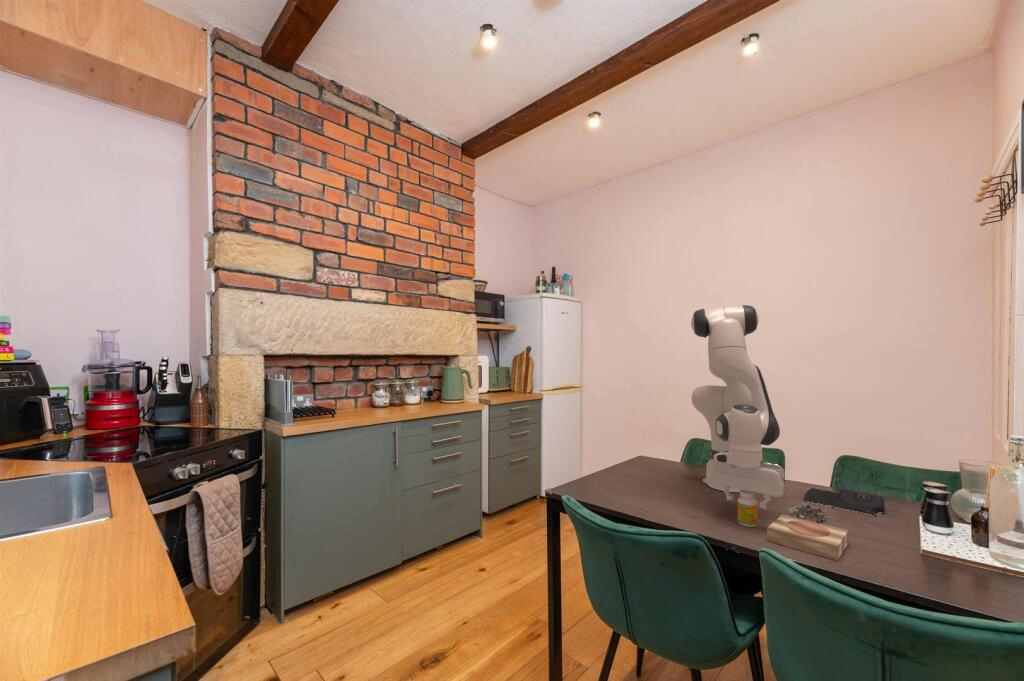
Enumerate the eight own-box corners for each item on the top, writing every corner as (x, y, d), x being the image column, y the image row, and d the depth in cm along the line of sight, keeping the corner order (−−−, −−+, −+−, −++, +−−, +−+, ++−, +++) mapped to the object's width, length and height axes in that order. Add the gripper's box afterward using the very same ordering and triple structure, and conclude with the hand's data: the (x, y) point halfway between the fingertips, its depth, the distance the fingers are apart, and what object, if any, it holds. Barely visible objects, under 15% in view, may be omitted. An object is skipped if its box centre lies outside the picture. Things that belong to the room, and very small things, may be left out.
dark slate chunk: (809, 492, 164) (809, 480, 164) (886, 507, 148) (886, 493, 148) (800, 503, 153) (800, 489, 153) (883, 520, 137) (882, 505, 137)
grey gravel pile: (812, 527, 131) (812, 514, 131) (786, 519, 138) (786, 506, 138) (829, 520, 137) (829, 507, 137) (803, 512, 143) (803, 500, 143)
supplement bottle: (738, 525, 132) (737, 493, 132) (737, 519, 137) (736, 488, 137) (758, 528, 130) (758, 495, 130) (756, 522, 135) (756, 490, 135)
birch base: (782, 526, 131) (782, 513, 131) (848, 543, 119) (848, 529, 120) (767, 540, 121) (767, 526, 121) (838, 561, 110) (837, 545, 110)
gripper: (787, 463, 128) (788, 511, 128) (716, 451, 143) (716, 494, 143) (780, 467, 124) (781, 516, 123) (708, 454, 139) (708, 498, 138)
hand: (746, 504), depth 133 cm, fingers open, 8 cm apart
